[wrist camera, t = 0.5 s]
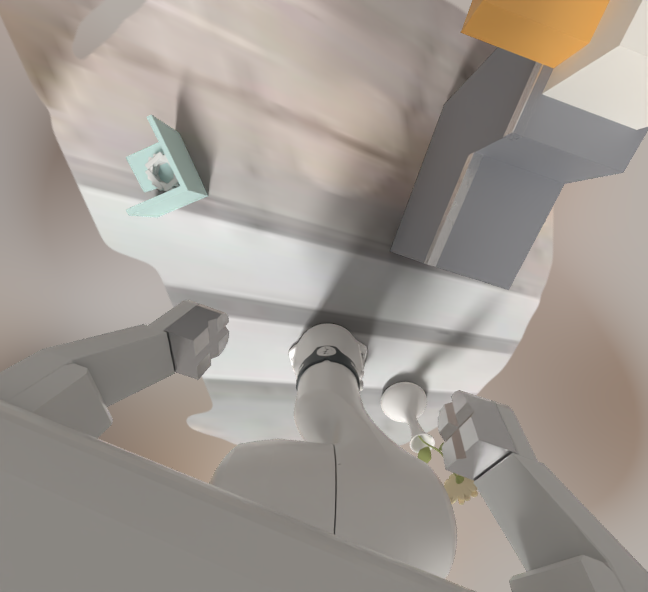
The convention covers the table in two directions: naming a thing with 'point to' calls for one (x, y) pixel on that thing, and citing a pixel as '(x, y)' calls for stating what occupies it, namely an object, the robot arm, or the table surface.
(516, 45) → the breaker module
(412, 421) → the flower in vase
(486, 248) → the stand
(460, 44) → the table surface
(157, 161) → the mint green angled piece
